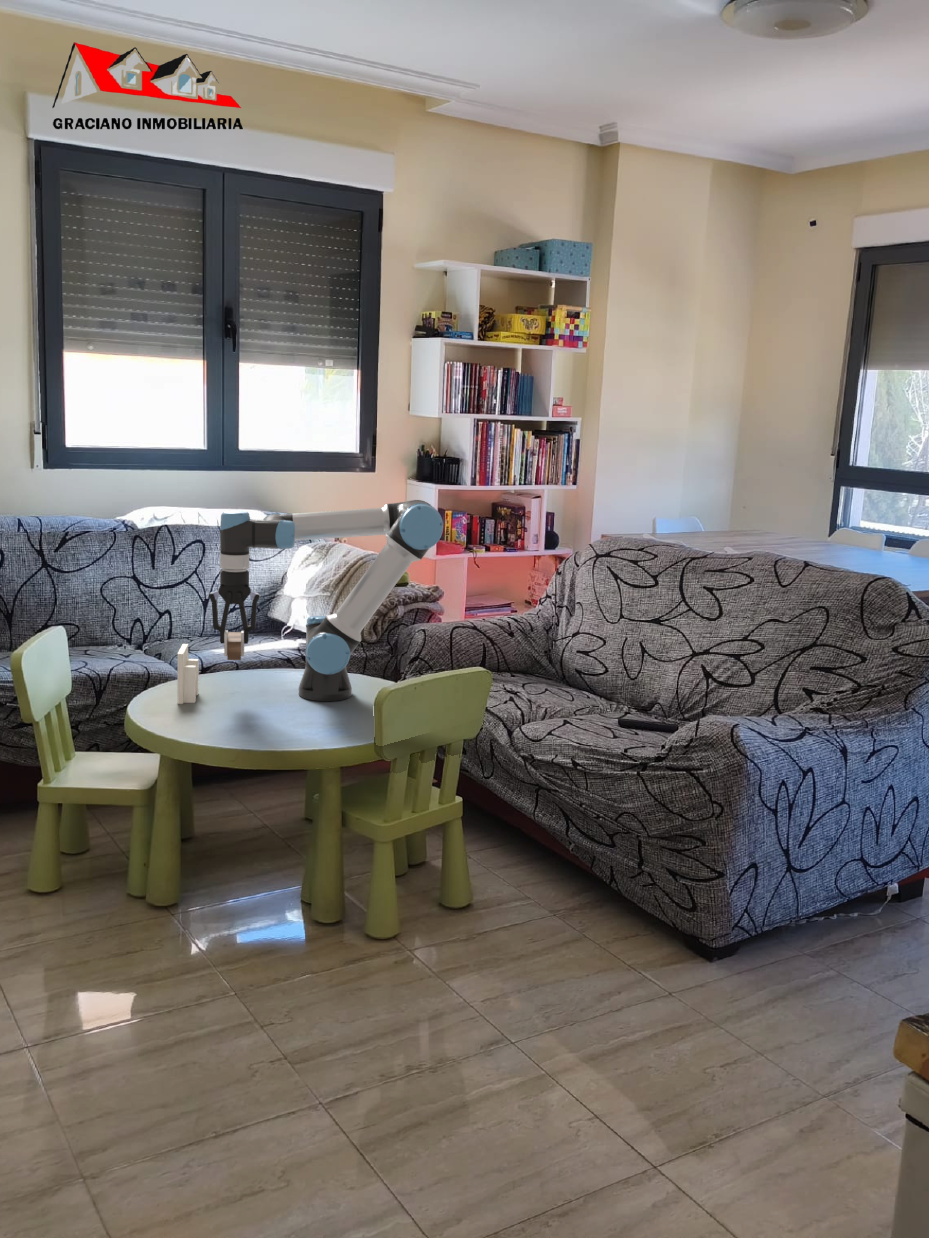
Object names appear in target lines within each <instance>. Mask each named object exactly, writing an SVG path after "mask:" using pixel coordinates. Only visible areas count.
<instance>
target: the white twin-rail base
mask: <svg viewBox="0 0 929 1238" xmlns="http://www.w3.org/2000/svg"><path fill="white" fill-rule="evenodd" d="M199 663H200V662H199V658H189V643H182V645H181V646H180V648H179V650H178V651H177V704H178V705H183V704H184V703H185V704H186V703H188V704H190V703H191V704H195V703H196V701H197V700H196V699H197V698H196V697H197V696H198V695H199V690H200V689H199V684H200V683H199V681H200V679H199V675H200V673H199V670H200V669H199V667H200V666H199V665H200V664H199Z"/></svg>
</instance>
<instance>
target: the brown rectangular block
mask: <svg viewBox="0 0 929 1238" xmlns="http://www.w3.org/2000/svg"><path fill="white" fill-rule="evenodd" d="M226 658H227V659H226V660H227V661H241V660H242V656H241V631H232V632H231V631H228V642H227V656H226Z"/></svg>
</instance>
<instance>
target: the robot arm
mask: <svg viewBox="0 0 929 1238" xmlns="http://www.w3.org/2000/svg"><path fill="white" fill-rule="evenodd" d="M219 525H220V528H219V533H220V534H219V545H220V547H219V548H220V549H219V551H220V553H219V557H220V558H219V563H220V565H219V566H220V568H221V570H220V571H219V577H220V578H219V579H220V580H219V581H220V582H219V588H218V589H217V590H215V591H211V592H210V593H209V594H208V598H209V599H210V602H211V615H212V629H213V630H216V631H218V632H219V642H220V644H223V645H224V650H223V652H224V653H223V654H224V655H223V656H224V657H227V642H228V632H229V630H226V628H227V627H226V626H227V621H228V618H229V617H228V615H229V612H230V607H231V605H238V608H239V612H240V619H241V624H242V629H243V630H241V631H240V632H241V657H245V645H246V644H248V643H249V638H250V637H249V633H250V632H251V631H254V630H256V625H257V624H256V623H257V622H256V621H257V612H258V611H257V609H258V608H257V607H258V602H259V599H260V596H261V594H260V593H259V592H254V591H252V590H251V588H250V571H249V570H248V569H249V568H250V548H251V549H252V548H253V549H256V548H257V549H278V550H283V549H285V550H287V549H293V548H294V546H295V541H305V540H306V541H307V540H324V539H337V538H352V537H353V538H355V537H356V538H357V537H367V536H368V537H369V536H370V537H371V536H385V537H386V538H385V539H386V543H385V545H384V546H383V548H382V549H381V551H379V553H378V555H377V556H376V557H375V559H374V560H373V561H372V563H371V564H370V565H369V566H368V568H367V569H366V570H365V572H364V574H363V575H362V576H361V578H360V579H359V580H358V582H357V583H356V584H355V586H353V588H352V590H351V591H350V592H349V594H348V595H347V596H346V598H345V599H344V601H343V602H342V604H340V606H339V607H338V609H337V610H336V611H335V613H332V614H327V615H312V616H308V617H307V619H306V625H305V628H306V634H305V635H306V636H305V652H304V653H305V668H304V671H303V674H302V677H301V680H300V683H299V685H298V695H299V697H301V698H303V699H306V700H309V701H317V702H336V701H337V702H338V701H342V700H347V699H349V698H351V697H352V693H353V691H352V690H353V688H352V684H351V680H350V677H349V674H348V670H347V665H348V664H349V661H350V659H351V655H352V654H353V653H354V651H355V649H357V647H358V646H359V644H360V643H361V641H362V636H361V634H362V633H361V632H362V631H363V630H364V628H365V626H366V625H367V624H368V623H369V621H370V620H371V618H372V617H373V616H374V614H375V613H376V611H377V610H378V609H379V608H380V606H381V605H382V604H383V602H384V601H385V600H386V598H387V597H388V596H389V594H390V593H391V591H392V590H393V589H394V588H395V586H396V584H398V582H399V581H400V580H401V578H402V577H403V575H404V574H405V573H406V572H407V570H408V569H409V567H410V566H411V565H412V563H413V562H418V561H419V562H420V561H421V560H422V559H423V558H424V556H425V555H426V554H427V552H428V550H430V549H431V548H433V547H434V546H436V544H438V542H439V541H440V539H441V537H442V534H443V531H444V521H443V518H442V516H441V513H440V512H439V510H437V509H436V508H435V507H434V506H433V505H431V504H430V503H429V502H427V501H424V500H421V499H413V500H407V501H400V502H395V503H394V502H392V503H385V504H384V506H383V507H376V508H375V507H373V508H358V509H343V510H331V511H329V510H327V511H312V512H300V513H298V512H297V513H296V512H295V513H284V514H283V513H270V514H268V515H266V516H265V517H264V518H263V519H252V518H251V517H250V513H249V512H248V511H244V510H242V511H241V510H225V511H224V512H222V513H221V514H220V524H219ZM219 595H220V597H221V598H222V600H223V601H224V607H223V613H222V618H221V622H220V624H219V613H218V611H219V608H218V600H219ZM249 596H250V600H251V601H252V602H251V613H250V615H251V617H250V625H249V622H248V617H247V611H246V606H245V601H246V600H247V599H248V597H249Z"/></svg>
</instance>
